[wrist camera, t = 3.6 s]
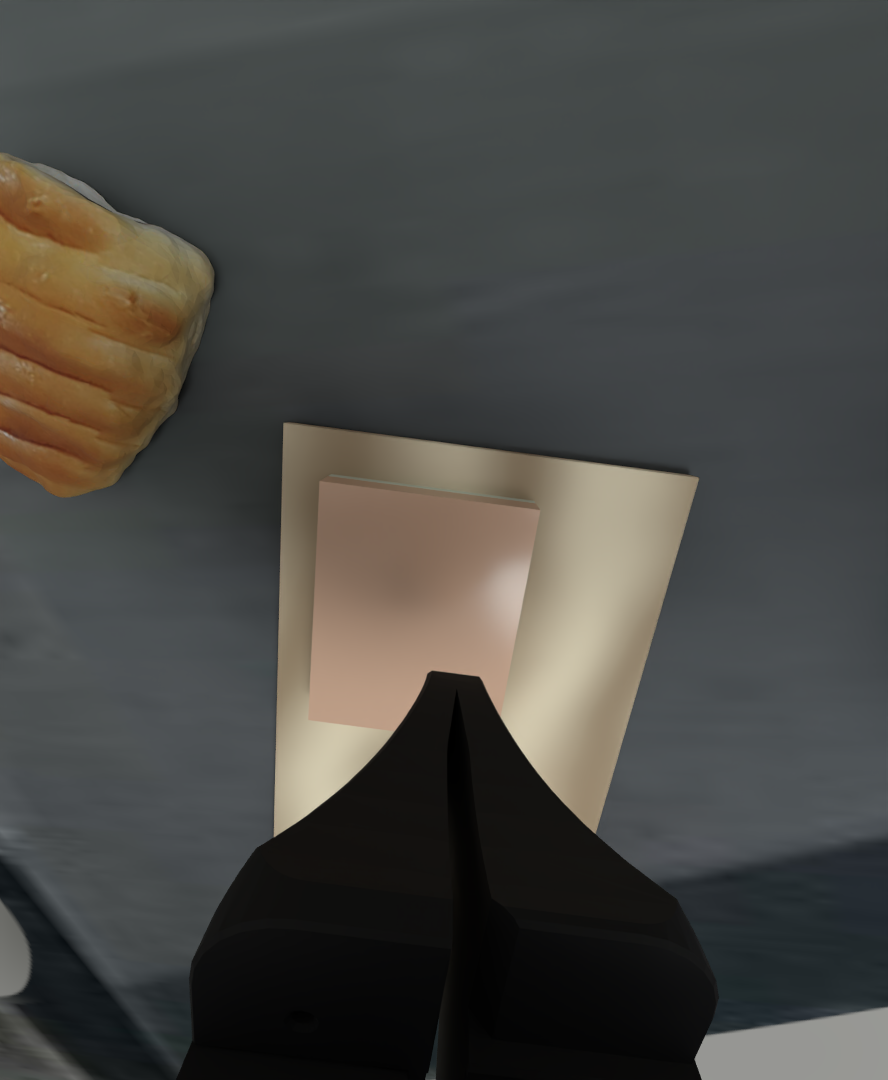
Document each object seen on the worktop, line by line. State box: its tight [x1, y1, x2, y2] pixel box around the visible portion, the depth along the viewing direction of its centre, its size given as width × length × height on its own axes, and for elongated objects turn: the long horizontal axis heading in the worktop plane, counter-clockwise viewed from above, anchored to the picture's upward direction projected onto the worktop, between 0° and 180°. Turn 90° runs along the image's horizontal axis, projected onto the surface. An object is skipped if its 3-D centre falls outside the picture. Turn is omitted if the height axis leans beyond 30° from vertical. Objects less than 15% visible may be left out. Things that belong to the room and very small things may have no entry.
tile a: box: [308, 474, 540, 731], centre depth 16 cm, size 1×9×7 cm
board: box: [274, 422, 699, 837], centre depth 19 cm, size 14×24×1 cm, turn 173°
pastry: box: [0, 152, 215, 498], centre depth 14 cm, size 9×7×4 cm
